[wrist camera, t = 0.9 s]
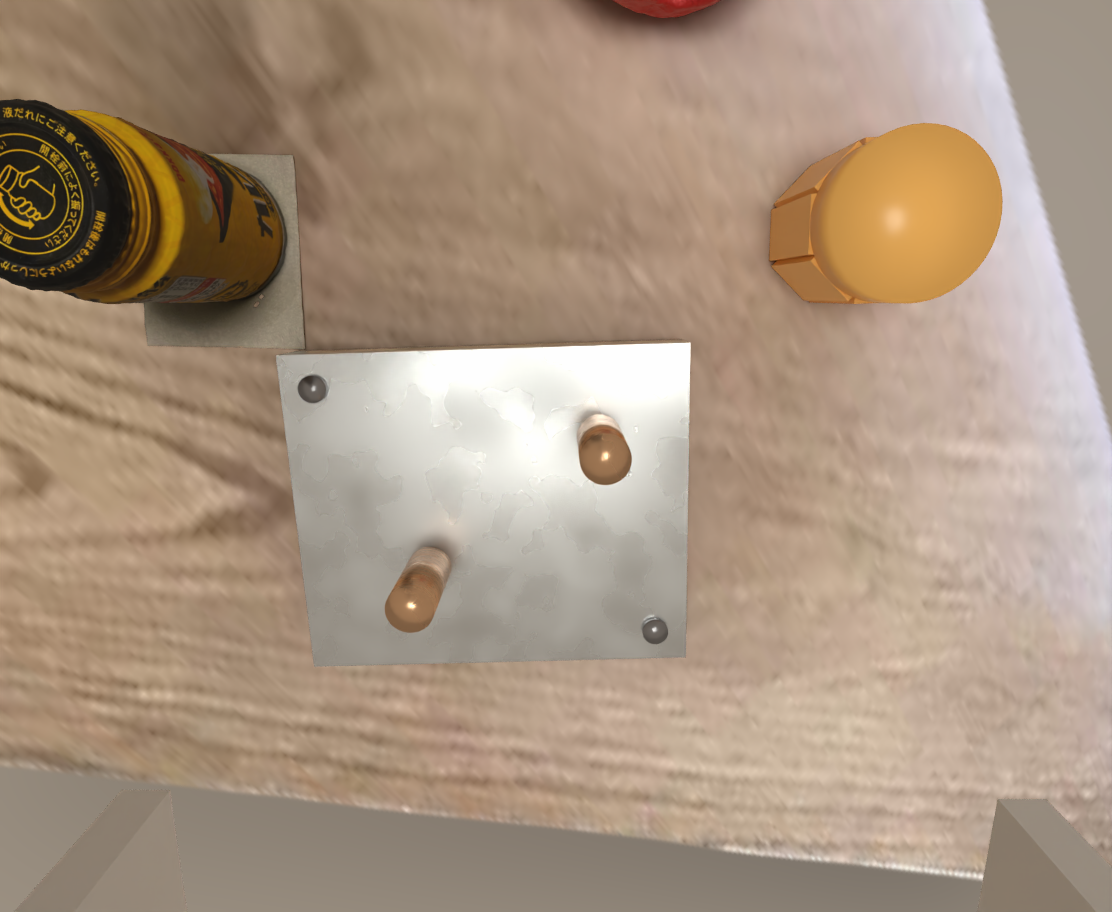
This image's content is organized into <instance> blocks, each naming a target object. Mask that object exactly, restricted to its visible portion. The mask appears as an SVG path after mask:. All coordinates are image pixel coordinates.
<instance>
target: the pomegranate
mask: <svg viewBox="0 0 1112 912" xmlns="http://www.w3.org/2000/svg"><path fill="white" fill-rule="evenodd" d="M612 1H614V2H616V3H618V4H620V5H622V6H623V7H627V8H628V9H630V10H632V11H634V12H637V13H644V14H646V15H649V16H654V17H657V18H666V17H668V18H669V17H675V18H676V17H679V16H684V15H687V14H690V13H692V12H695V11H697V10H702V9H704V8H706V7H709V6H711V5H713V4H715V3H717V2H719V1H721V0H612Z"/></svg>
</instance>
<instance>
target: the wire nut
mask: <svg viewBox="0 0 1112 912" xmlns="http://www.w3.org/2000/svg"><path fill="white" fill-rule="evenodd" d="M774 205H775V206H776V207H777V208H775V209H772V210H771V227H770V252H769V261H776V262H775V263H774V264H773V265H772V266H771V267H772V268H773V269H774V270H775V271H776V272H777V273H778V274H779V275H780V276H781V277H782V278H783V279H784V280H785V281H786V282H787V284H788V285H789V286H790V287H791V288H792V289H793V290H794V291H795V292H796V293H797V294H798V295H799V296H800V297H801V298H802V299H803V300H809V302H813V303H848V304H860V303H917V302H923V301H927V300H931V299H934V298H936V297H939V296H942V295H944V294H946V293H948V292H949V291H951V290H953V289H954V288H956V287H957V286H959V285H960V284H962V283H963V282H964V281H965V280H966V279H968V278H969V277H970V276H971V275H972V274H973V273H974V272H975V271H976V269H977V268H978V267H979V266H980V265H981V263H982V262H983V261H984V259H985V258H986V256H987V254H988V253H989V251H990V249H991V247H992V245H993V243H994V241H995V238H996V236H997V232H998V229H999V226H1000V221H1001V215H1002V189H1001V185H1000V180H999V176H998V174H997V171H996V168H995V166H994V164H993V162H992V160H991V159H990V157H989V156H988V154H987V153H986V152H985V150H984V149H983V148H982V147H981V146H980V145H979V144H978V143H977V142H976V141H975V140H974V139H972V138H971V137H970V136H968V135H967V134H965V133H963V132H961V131H959V130H957V129H955V128H952V127H949V126H946V125H940V124H932V123H921V124H912V125H908V126H904V127H900V128H897V129H895V130H892V131H890V132H888V133H886V134H884V135H881V136H879V137H866V138H864V139H862V140H860V141H857V142H855V143H853V144H852V145H850V146H848V147H846V148H844V149H842V150H840V151H838V152H836V153H834V154H832V155H830V156H828V157H826V158H824V159H823V160H821V161H819V162H817V163H815V164H813V165H811V166H810V167H809V168H808V169H807V170H806V171H805V172H804V173H803V174H802V175H801V176H800V177H799V178H798V179H797V180H796V181H795V182H794V183H793V184H792V186H791V187H790V188H789V189H788V190H787V191H786V192H785V193H784V194H783V195H782V196H781V197H780V198H779V199H778V200H777V201H776V202H775V203H774Z"/></svg>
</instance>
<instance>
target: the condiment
mask: <svg viewBox="0 0 1112 912" xmlns="http://www.w3.org/2000/svg"><path fill="white" fill-rule="evenodd" d="M0 278H3V279H5V280H7V281H9V282H10V283H12V284H15V285H18V286H23V287H26V288H28V289H30V290H43V291H61V292H63V293H65V294H68V295H71V296H74V297H75V298H78V299H82V300H87V301H92V302H98V303H105V304H120V303H144V309H145V328H146V335H147V344H148V346H195V347H196V346H200V347H244V348H282V349H305V340H304V328H303V311H302V294H301V273H300V248H299V232H298V215H297V197H296V180H295V168H294V160H293V155H256V154H253V155H247V154H206V153H204V152H201V151H199V150H196V149H193V148H190V147H188V146H186V145H184V144H181V143H178V142H176V141H174V140H173V139H168V138H165V137H162V136H160V135H157V134H155V133H152V132H150V131H148V130H145V129H143V128H140V127H138V126H136V125H134V124H133V123H130V122H128V121H125V120H124V119H122V118H119V117H112V116H109V115H106V114H101V113H97V112H92V111H86V110H81V109H80V110H67V111H63V110H60V109H57V108H55V107H53V106H52V105H50V104H48V103H45V102H40V101H37V100H27V101H25V100H21V99H14V100H3V101H1V100H0ZM261 294H263V295H264V297H263V298H262V299H259V296H260V295H261ZM257 301H258V302H259V305H258V306H257V307H254V304H255V303H256V302H257Z"/></svg>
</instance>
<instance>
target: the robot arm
mask: <svg viewBox="0 0 1112 912" xmlns="http://www.w3.org/2000/svg"><path fill="white" fill-rule="evenodd" d="M14 912H187V907H186V899H185V892H184V886H183V878H182V871H181V864H180V857H179V851H178V843H177V836H176V829H175V822H174V815H173V809H172V801H171V794H170V790H121V791H120V793H119V794H118V795H117V796H116V797H115V798H114V799H113V801H112V802H111V803H110V804H109V805H108V806H107V807H106V808H105V810H104V811H103V812H102V813H101V814H100V815H99V817H97V819H96V820H95V821H94V822H93V823H92V824H91V825H90V826H89V828H88V829H87V830H86V831H85V832H84V833H83V835H82V836H81V837H80V838H79V839H78V840H77V841H76V842H75V843H74V844H73V846H72V847H71V848H70V849H69V850H68V851H67V852H66V854H65V855H64V856H63V857H62V858H61V859H60V860H59V861H58V863H57V864H56V865H55V866H54V867H53V868H52V869H51V870H50V872H49V873H48V874H47V875H46V876H45V877H44V878H43V879H42V881H41V882H40V883H39V884H38V885H37V886H36V887H35V888H34V890H33V891H32V892H31V893H30V894H29V895H28V896H27V898H26V899H25V900H24V901H23V902H22V903H21V904H20V906H19V907H18V908H17V909H16V910H15V911H14ZM977 912H1112V867H1111V866H1110V865H1109V864H1108V863H1107V862H1106V861H1105V860H1104V859H1103V858H1102V856H1101V855H1100V854H1099V853H1098V852H1097V851H1096V850H1095V849H1094V848H1093V847H1092V846H1091V845H1090V844H1089V843H1088V842H1087V841H1086V840H1085V839H1084V838H1083V837H1082V836H1081V835H1080V834H1079V833H1078V832H1077V831H1076V830H1075V829H1074V827H1073V826H1072V825H1071V824H1070V823H1069V822H1068V821H1067V820H1066V819H1065V818H1064V817H1063V816H1062V815H1061V814H1060V813H1059V812H1058V811H1057V810H1056V809H1055V808H1054V807H1053V806H1052V805H1051V804H1050V803H1049V802H1048V801H1047V800H1046V799H998V800H997V806H996V811H995V817H994V822H993V828H992V833H991V839H990V844H989V850H988V855H987V861H986V866H985V872H984V877H983V883H982V888H981V894H980V899H979V905H978V910H977Z"/></svg>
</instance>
